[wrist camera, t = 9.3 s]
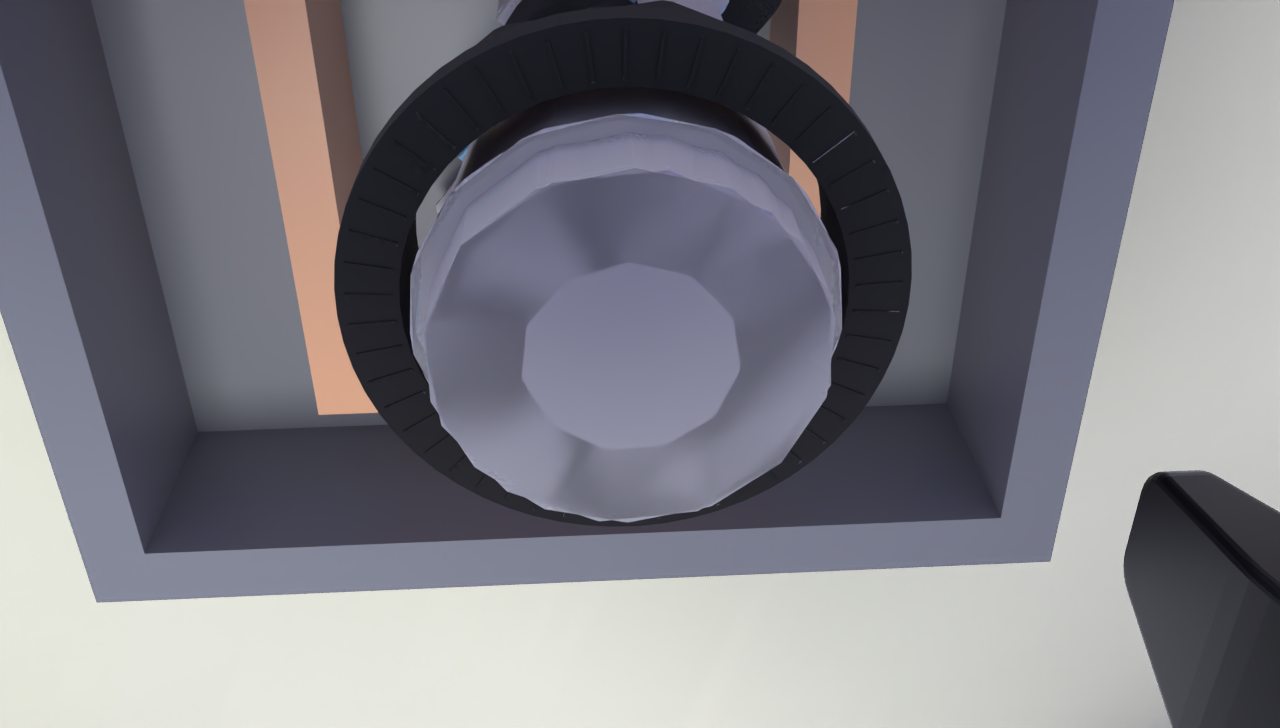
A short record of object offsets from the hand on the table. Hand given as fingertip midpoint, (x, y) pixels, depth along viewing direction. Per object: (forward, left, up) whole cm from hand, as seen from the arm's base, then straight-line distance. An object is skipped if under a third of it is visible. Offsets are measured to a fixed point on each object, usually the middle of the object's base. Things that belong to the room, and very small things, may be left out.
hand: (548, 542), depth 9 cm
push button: (0, 0, -12) cm, 12 cm away
